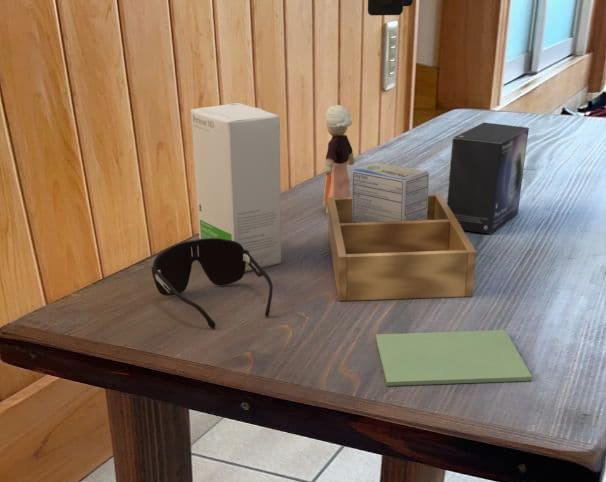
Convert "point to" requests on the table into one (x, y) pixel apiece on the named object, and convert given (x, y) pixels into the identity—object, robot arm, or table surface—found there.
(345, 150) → the grandmother figurine
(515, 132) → the small box
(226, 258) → the sunglasses
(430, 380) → the pad
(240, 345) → the table surface
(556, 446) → the table surface
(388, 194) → the medicine box
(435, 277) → the organizer
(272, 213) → the cosmetic box
